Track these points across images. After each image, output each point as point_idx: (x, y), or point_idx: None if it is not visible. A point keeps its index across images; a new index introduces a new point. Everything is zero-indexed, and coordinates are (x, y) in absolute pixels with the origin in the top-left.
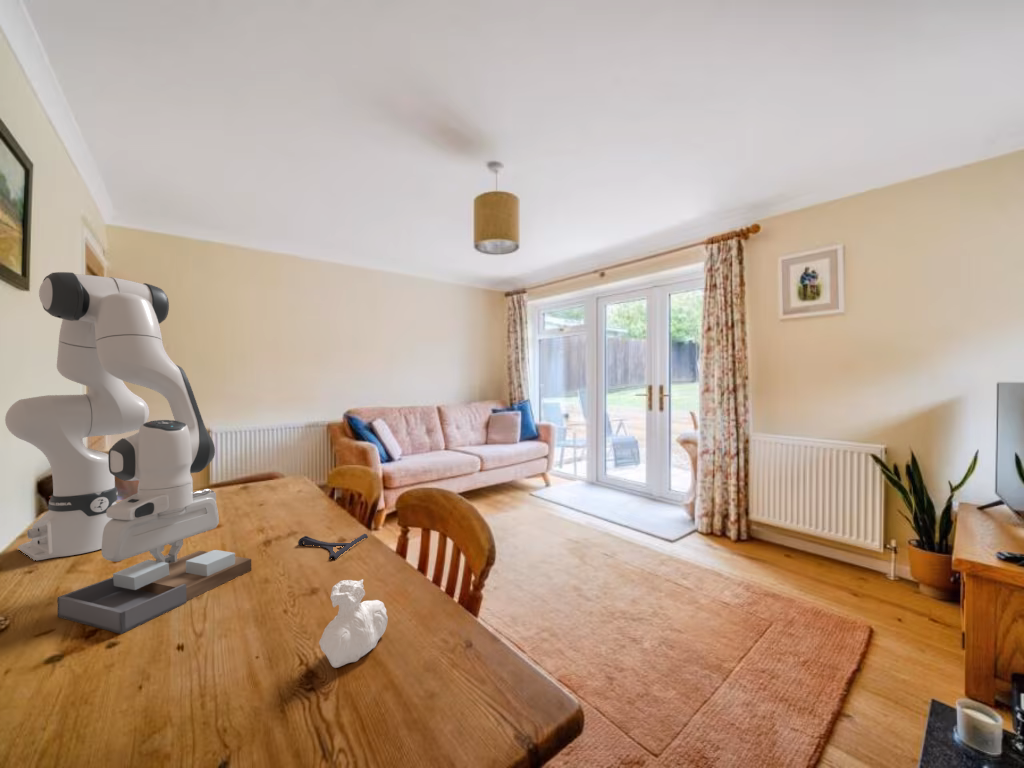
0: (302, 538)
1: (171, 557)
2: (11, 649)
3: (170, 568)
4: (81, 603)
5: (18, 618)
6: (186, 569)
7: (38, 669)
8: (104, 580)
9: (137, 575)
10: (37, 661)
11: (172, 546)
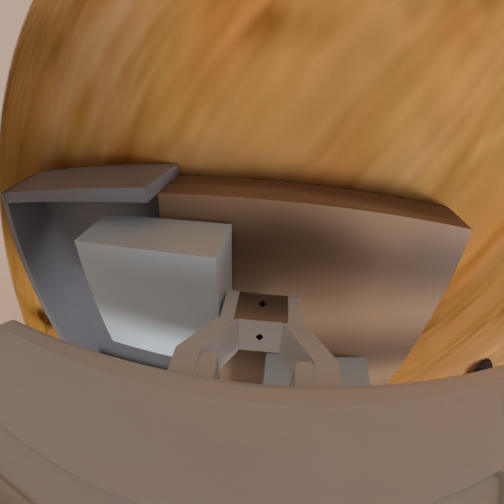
0: None
1: (266, 347)
2: (4, 236)
3: (284, 283)
4: (34, 290)
5: (12, 90)
6: (265, 363)
7: (36, 319)
8: (75, 192)
9: (122, 338)
10: (31, 304)
11: (306, 358)
